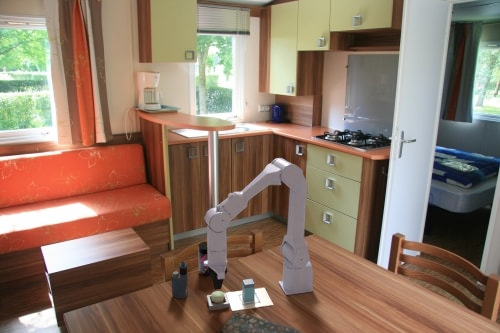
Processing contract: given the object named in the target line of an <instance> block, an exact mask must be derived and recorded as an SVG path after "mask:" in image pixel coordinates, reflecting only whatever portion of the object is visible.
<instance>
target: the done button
mask: <svg viewBox="0 0 500 333" xmlns="http://www.w3.org/2000/svg"><path fill="white" fill-rule="evenodd" d="M224 293H225V292H224V291H221V290H215V291H213V292H212V293H211V294H210V295H211V303H214V304H219V303H224V302H225V300H224Z"/></svg>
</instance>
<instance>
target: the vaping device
mask: <svg viewBox="0 0 500 333" xmlns="http://www.w3.org/2000/svg"><path fill="white" fill-rule="evenodd" d="M178 269H179V270H176V271H173V272H172V275H171V277H170V278H171V295H172V297H173V298H176V299H177V298H178V299H186V298H187V297H188V296H189V295H188V293H189V292H188V280H189V278H188V264H187V263H186V262H185V261H181V263H180V264H179V267H178Z"/></svg>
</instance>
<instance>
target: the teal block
mask: <svg viewBox="0 0 500 333" xmlns="http://www.w3.org/2000/svg"><path fill="white" fill-rule="evenodd" d="M241 286H242V288H241V291H242V297H243V300H244V302H250V301H255V289H256V288H255V282H254V280H253V278H248V279H247V278H246V279H242V283H241Z"/></svg>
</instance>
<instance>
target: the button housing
mask: <svg viewBox="0 0 500 333" xmlns="http://www.w3.org/2000/svg"><path fill="white" fill-rule="evenodd" d="M223 293H224V302H221V303H214V304H213V303H212V300H211V294H207V295H206V301H207V305H208V308H209V311H215V310H223V309H228V308H229V309H230V303H229V301H228V298H227V295H226V293H227V292H223Z"/></svg>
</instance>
